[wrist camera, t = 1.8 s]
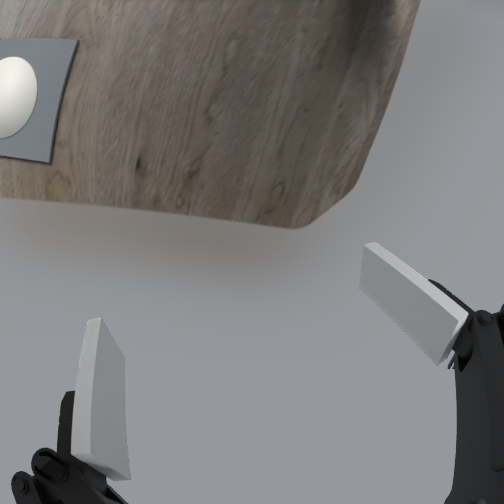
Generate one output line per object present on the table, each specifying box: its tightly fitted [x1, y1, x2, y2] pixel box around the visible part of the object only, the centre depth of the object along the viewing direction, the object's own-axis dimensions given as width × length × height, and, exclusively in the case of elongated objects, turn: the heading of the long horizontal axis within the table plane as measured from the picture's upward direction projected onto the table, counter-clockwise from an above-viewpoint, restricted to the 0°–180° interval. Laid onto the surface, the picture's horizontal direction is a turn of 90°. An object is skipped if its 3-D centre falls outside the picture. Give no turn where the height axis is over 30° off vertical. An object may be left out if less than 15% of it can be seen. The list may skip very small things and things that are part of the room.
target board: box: [0, 38, 79, 162], centre depth 20 cm, size 16×18×1 cm
